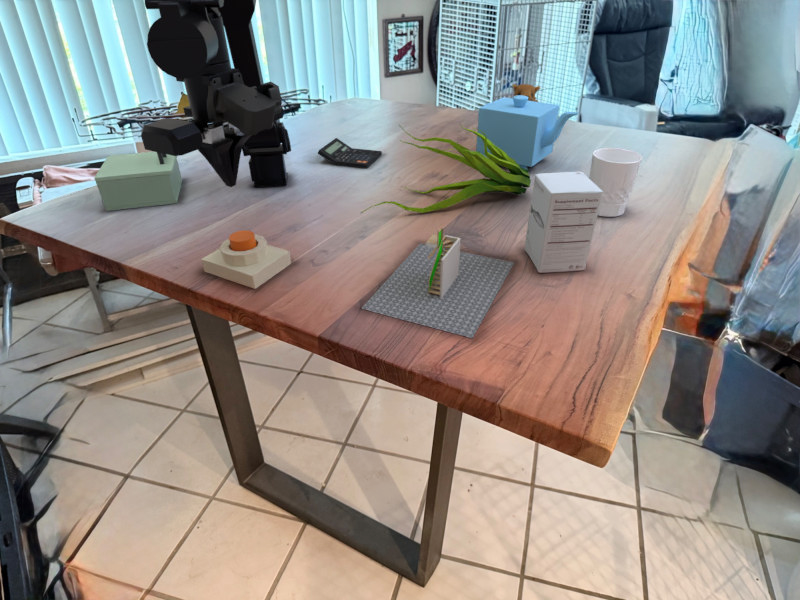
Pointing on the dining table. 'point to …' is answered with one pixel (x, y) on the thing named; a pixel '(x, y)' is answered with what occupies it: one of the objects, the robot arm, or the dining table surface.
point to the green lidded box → (141, 191)
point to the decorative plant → (482, 164)
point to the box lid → (136, 166)
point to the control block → (247, 263)
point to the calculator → (348, 155)
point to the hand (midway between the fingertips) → (231, 185)
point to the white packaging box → (562, 221)
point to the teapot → (521, 128)
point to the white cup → (614, 178)
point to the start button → (242, 240)
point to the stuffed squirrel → (526, 91)
